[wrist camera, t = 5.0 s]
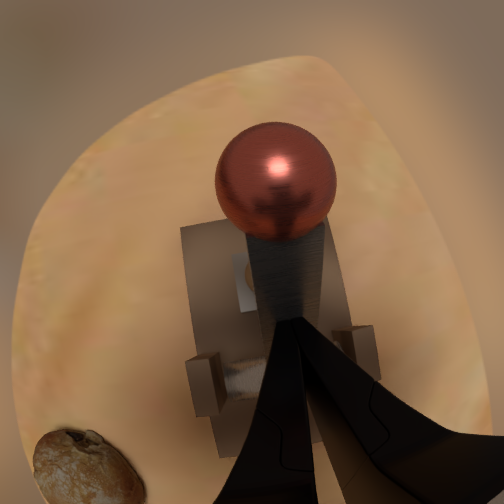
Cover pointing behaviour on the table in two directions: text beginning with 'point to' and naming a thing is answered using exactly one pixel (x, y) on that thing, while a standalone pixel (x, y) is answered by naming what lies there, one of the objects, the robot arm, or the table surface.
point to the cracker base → (249, 324)
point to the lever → (276, 229)
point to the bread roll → (83, 470)
